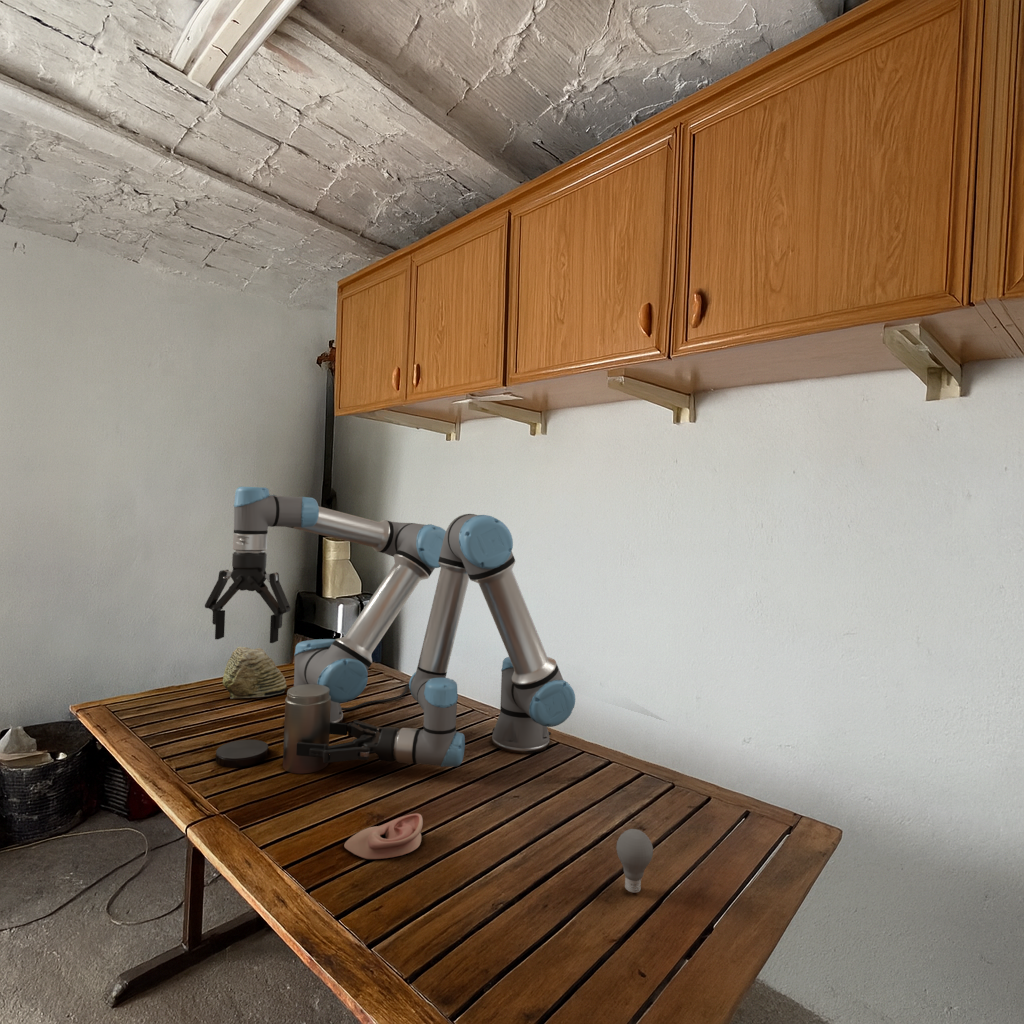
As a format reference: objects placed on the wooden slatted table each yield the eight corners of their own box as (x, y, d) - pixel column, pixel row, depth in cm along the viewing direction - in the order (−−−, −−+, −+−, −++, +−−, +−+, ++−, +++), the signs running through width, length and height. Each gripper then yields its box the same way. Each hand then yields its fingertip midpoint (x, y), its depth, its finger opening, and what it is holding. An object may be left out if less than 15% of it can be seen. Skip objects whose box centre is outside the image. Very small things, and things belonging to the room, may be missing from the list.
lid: (277, 750, 157) (277, 741, 157) (251, 769, 145) (252, 760, 145) (233, 745, 158) (233, 737, 158) (205, 764, 147) (205, 755, 147)
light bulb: (610, 879, 108) (613, 822, 108) (644, 879, 109) (647, 822, 109) (619, 902, 102) (622, 840, 102) (655, 901, 103) (658, 840, 103)
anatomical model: (336, 832, 112) (364, 802, 124) (336, 854, 112) (363, 822, 124) (407, 843, 110) (429, 812, 121) (406, 866, 110) (428, 832, 121)
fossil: (218, 695, 195) (220, 647, 195) (278, 685, 208) (279, 640, 207) (228, 703, 189) (230, 653, 188) (289, 692, 201) (290, 645, 201)
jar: (280, 775, 143) (283, 697, 143) (284, 756, 153) (287, 684, 153) (327, 772, 146) (330, 695, 145) (328, 754, 156) (331, 683, 155)
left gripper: (190, 549, 148) (187, 640, 149) (293, 555, 146) (289, 647, 146) (209, 547, 156) (206, 633, 156) (306, 552, 153) (303, 640, 154)
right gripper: (381, 784, 135) (285, 775, 137) (410, 740, 160) (329, 734, 162) (382, 749, 135) (286, 741, 137) (412, 711, 160) (330, 704, 162)
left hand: (246, 640), depth 151 cm, fingers open, 13 cm apart
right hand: (309, 737), depth 149 cm, fingers open, 13 cm apart
